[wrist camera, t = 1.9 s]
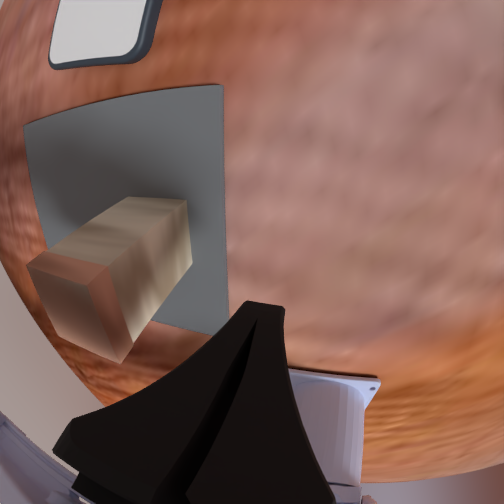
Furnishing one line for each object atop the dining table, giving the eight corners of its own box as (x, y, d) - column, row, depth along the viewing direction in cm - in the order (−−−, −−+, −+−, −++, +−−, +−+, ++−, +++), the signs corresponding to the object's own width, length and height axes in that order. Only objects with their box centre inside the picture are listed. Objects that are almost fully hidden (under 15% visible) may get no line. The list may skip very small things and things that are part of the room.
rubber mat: (230, 333, 20) (228, 338, 19) (67, 289, 23) (63, 292, 23) (223, 85, 12) (220, 84, 11) (27, 124, 15) (22, 125, 15)
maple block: (193, 264, 17) (120, 364, 10) (137, 254, 18) (58, 336, 11) (187, 199, 15) (87, 284, 8) (127, 195, 16) (25, 265, 9)
